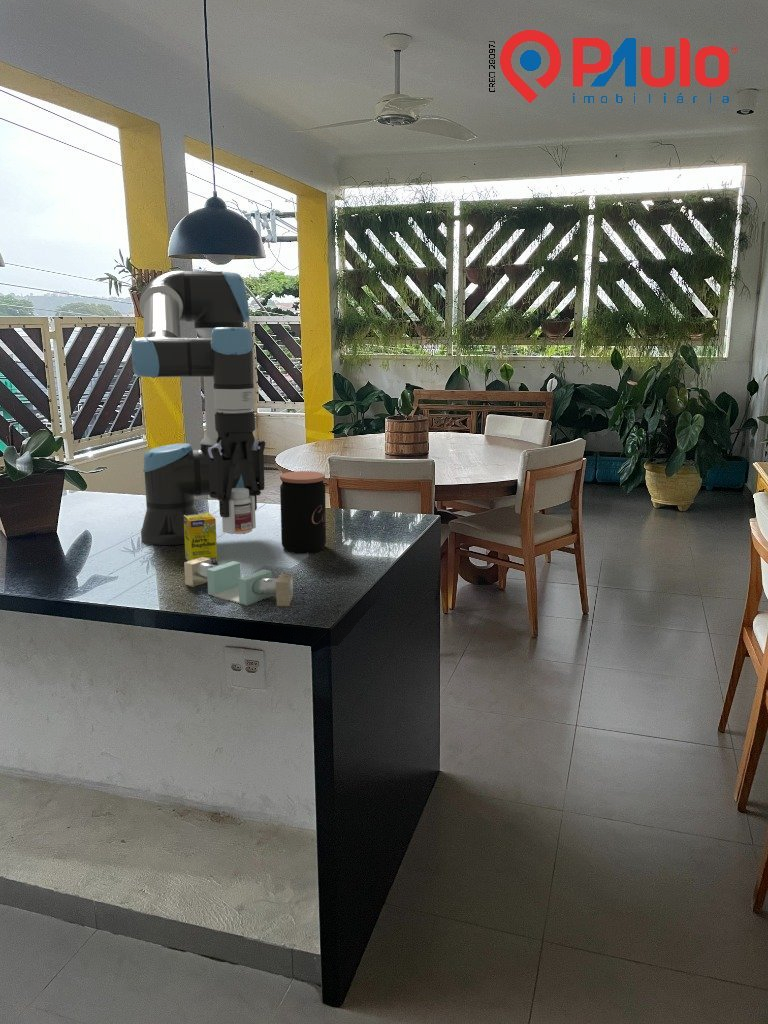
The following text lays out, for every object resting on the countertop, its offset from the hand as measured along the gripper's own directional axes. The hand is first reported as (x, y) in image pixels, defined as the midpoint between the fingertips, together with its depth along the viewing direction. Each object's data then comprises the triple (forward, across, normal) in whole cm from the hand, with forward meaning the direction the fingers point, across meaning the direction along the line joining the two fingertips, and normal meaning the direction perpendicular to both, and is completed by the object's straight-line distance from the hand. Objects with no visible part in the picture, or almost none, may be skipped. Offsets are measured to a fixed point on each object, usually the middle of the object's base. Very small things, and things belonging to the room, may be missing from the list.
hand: (239, 529), depth 150 cm
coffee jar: (+13, +32, +12) cm, 37 cm away
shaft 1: (+13, -1, +10) cm, 16 cm away
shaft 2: (+13, +1, -8) cm, 15 cm away
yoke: (+13, -1, 0) cm, 13 cm away
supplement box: (+13, +9, +22) cm, 27 cm away
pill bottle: (+1, 0, 0) cm, 1 cm away
